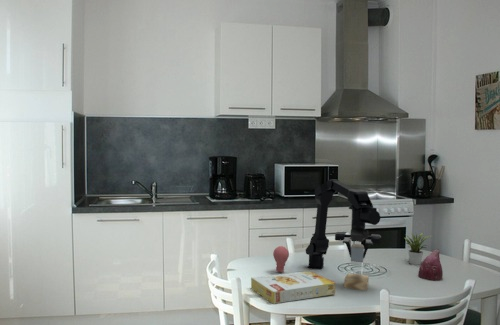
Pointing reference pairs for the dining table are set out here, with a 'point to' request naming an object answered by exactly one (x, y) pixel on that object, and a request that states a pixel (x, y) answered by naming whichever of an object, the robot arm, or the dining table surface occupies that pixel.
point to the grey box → (357, 253)
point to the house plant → (415, 249)
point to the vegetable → (431, 267)
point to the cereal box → (292, 286)
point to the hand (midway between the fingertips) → (357, 257)
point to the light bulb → (280, 257)
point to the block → (356, 281)
